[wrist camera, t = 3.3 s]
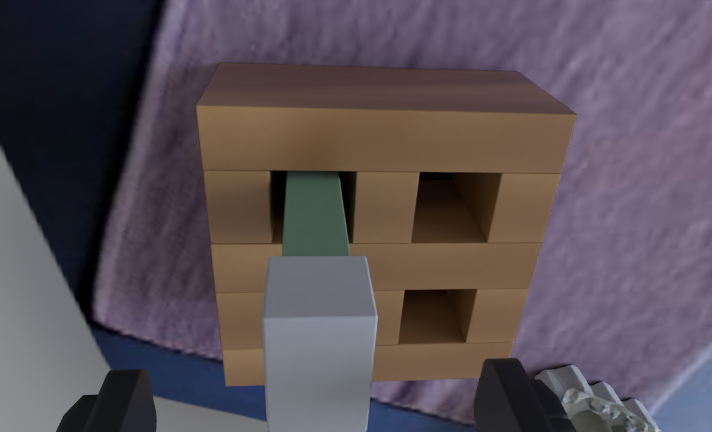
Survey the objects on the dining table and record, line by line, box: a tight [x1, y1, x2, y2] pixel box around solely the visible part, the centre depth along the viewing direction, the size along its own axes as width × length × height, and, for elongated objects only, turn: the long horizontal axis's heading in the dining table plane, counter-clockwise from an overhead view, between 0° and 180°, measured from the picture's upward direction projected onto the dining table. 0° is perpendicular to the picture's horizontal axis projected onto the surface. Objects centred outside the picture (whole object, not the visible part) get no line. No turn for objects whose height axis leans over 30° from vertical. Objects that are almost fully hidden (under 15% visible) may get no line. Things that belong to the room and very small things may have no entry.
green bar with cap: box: [262, 171, 378, 432], centre depth 19 cm, size 4×3×14 cm, turn 177°
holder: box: [196, 63, 577, 386], centre depth 24 cm, size 14×14×6 cm
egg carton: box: [535, 365, 662, 432], centre depth 35 cm, size 11×8×4 cm
